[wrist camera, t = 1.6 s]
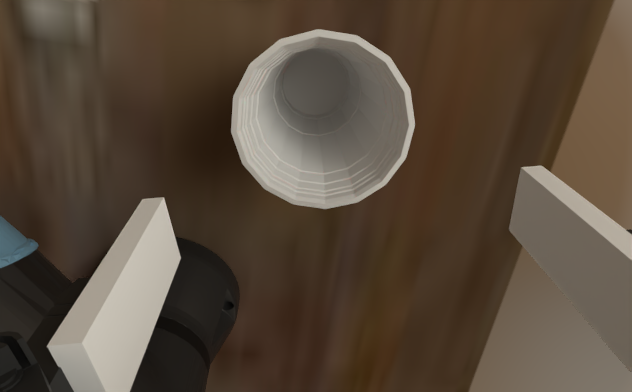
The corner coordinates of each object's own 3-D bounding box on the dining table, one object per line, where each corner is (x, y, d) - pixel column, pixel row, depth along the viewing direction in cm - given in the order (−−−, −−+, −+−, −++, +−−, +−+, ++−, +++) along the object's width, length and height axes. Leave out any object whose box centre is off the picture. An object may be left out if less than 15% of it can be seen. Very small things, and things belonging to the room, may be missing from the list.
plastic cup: (268, -11, 31) (258, -3, 20) (397, 40, 33) (449, 71, 22) (232, 121, 35) (208, 184, 25) (347, 157, 38) (370, 229, 27)
